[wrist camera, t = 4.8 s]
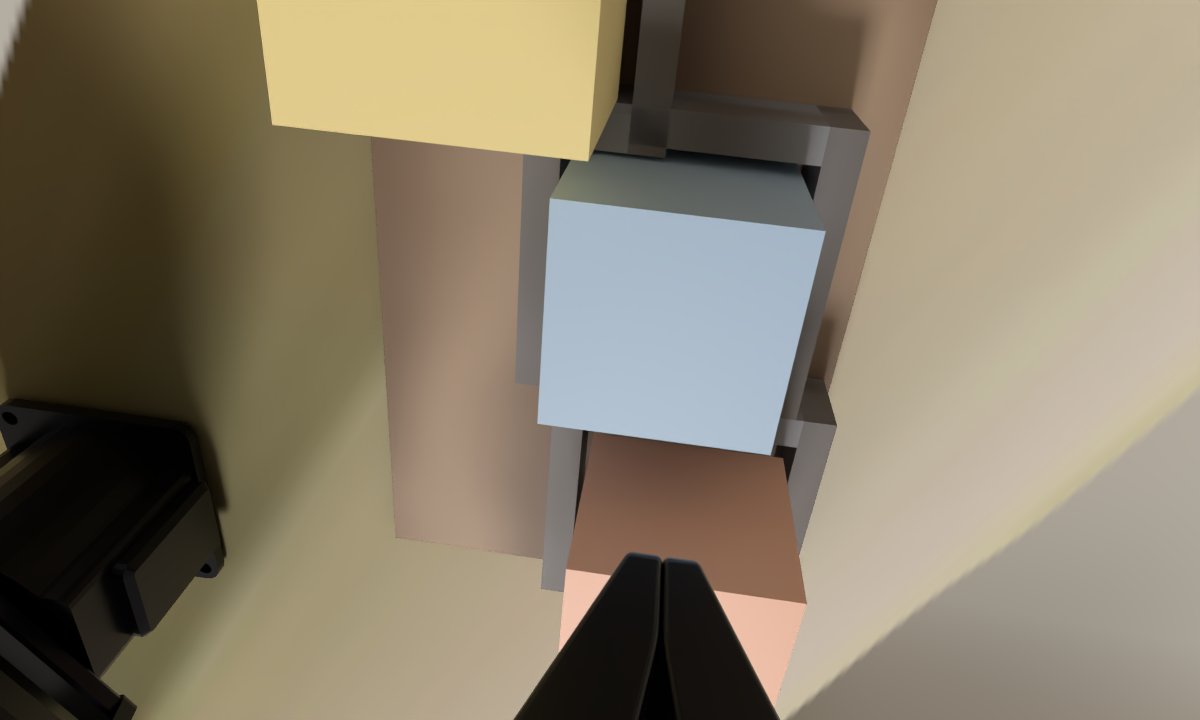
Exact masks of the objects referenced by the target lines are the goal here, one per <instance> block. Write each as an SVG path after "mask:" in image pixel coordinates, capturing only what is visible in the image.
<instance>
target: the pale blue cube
mask: <svg viewBox="0 0 1200 720" xmlns="http://www.w3.org/2000/svg"><path fill="white" fill-rule="evenodd" d="M825 232H826V231H825V229H824V226H823V224H822V221H821V219H820V217H819V214H818V212H817V210H816V207H815V205H814V203H813V200H812V198H811V196H810V193H809V191H808V189H807V186H806V184H805V182H804V179H803V177H802V175H801V172H800V170H799V168H798V165H797V164H796V163H787V162H778V161H770V160H761V159H752V158H744V157H735V156H726V155H718V154H709V153H700V152H691V151H683V150H674V149H666V155H665V158H659V157H651V156H642V155H633V154H625V153H616V152H607V151H599V150H593V152H592V155H591V157H590V159H589V161H579V160H571V161H570V162H569V164H568V166H567V168H566V170H565V171H564V173H563V175H562V177H561V179H560V181H559V182H558V184H557V186H556V188H555V190H554V192H553V193H552V195H551V197H550V204H549V222H548V241H547V259H546V277H545V295H544V313H543V331H542V349H541V367H540V385H539V404H538V422H537V424H543V425H550V426H558V427H565V428H573V429H580V430H587V431H595V432H602V433H610V434H617V435H624V436H632V437H639V438H646V439H654V440H661V441H669V442H676V443H683V444H691V445H698V446H705V447H713V448H720V449H728V450H735V451H742V452H750V453H757V454H765V455H771V452H772V448H773V444H774V439H775V435H776V431H777V427H778V423H779V419H780V415H781V411H782V407H783V403H784V399H785V395H786V391H787V387H788V383H789V378H790V374H791V370H792V366H793V362H794V358H795V354H796V350H797V346H798V342H799V338H800V334H801V330H802V326H803V322H804V317H805V313H806V309H807V305H808V301H809V297H810V293H811V289H812V285H813V281H814V277H815V273H816V269H817V265H818V261H819V256H820V252H821V248H822V244H823V240H824V236H825Z"/></svg>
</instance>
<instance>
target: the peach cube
mask: <svg viewBox="0 0 1200 720" xmlns="http://www.w3.org/2000/svg"><path fill="white" fill-rule="evenodd" d="M629 552H637V553H644V554H651V555H657V556H659V557H660V558H661V559H662V563H663V560H664V559H665V558H667V557H672V558H679V559H686V560H692V561H696V562H697V563H699V564H700V566H701V567H702V569H703V571H704V573H705V575H706V577H707V579H708V581H709V583H710V584H711V586H712V588H713V590H714V592H715V594H716V596H717V598H718V600H719V602H720V604H721V606H722V608H723V610H724V612H725V614H726V616H727V617H728V619H729V621H730V623H731V625H732V627H733V629H734V631H735V633H736V635H737V637H738V639H739V641H740V643H741V645H742V647H743V649H744V650H745V652H746V654H747V656H748V658H749V660H750V662H751V664H752V666H753V668H754V670H755V672H756V674H757V676H758V678H759V680H760V682H761V683H762V685H763V687H764V689H765V691H766V693H767V695H768V697H769V699H770V701H771V703H772V705H773V707H775V704H776V701H777V698H778V694H779V691H780V688H781V685H782V682H783V678H784V675H785V672H786V669H787V666H788V663H789V659H790V656H791V653H792V650H793V647H794V643H795V640H796V637H797V634H798V631H799V627H800V624H801V621H802V618H803V615H804V611H805V608H806V605H807V602H806V596H805V590H804V584H803V578H802V572H801V565H800V559H799V553H798V547H797V541H796V535H795V529H794V522H793V516H792V510H791V504H790V498H789V492H788V485H787V479H786V473H785V467H784V461H783V458H779V457H771V456H764V455H757V454H749V453H742V452H734V451H727V450H720V449H712V448H705V447H698V446H690V445H683V444H675V443H668V442H661V441H653V440H646V439H639V438H631V437H624V436H616V435H609V434H602V433H594V435H593V440H592V445H591V449H590V454H589V459H588V464H587V469H586V474H585V479H584V484H583V489H582V493H581V498H580V503H579V508H578V513H577V518H576V523H575V528H574V533H573V537H572V542H571V547H570V552H569V557H568V562H567V567H566V575H565V586H564V598H563V609H562V620H561V632H560V643H559V652H560V650H561V649H562V648H563V646H564V645H565V643H566V642H567V640H568V639H569V637H570V636H571V634H572V633H573V631H574V630H575V628H576V627H577V625H578V624H579V622H580V621H581V619H582V618H583V617H584V615H585V614H586V612H587V611H588V609H589V608H590V606H591V605H592V603H593V602H594V600H595V599H596V597H597V596H598V594H599V593H600V591H601V590H602V589H603V587H604V586H605V584H606V583H607V581H608V580H609V578H610V577H611V575H612V574H613V572H614V571H615V569H616V568H617V566H618V565H619V563H620V562H621V561H622V559H623V558H624V556H625V555H626V554H627V553H629Z"/></svg>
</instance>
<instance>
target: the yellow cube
mask: <svg viewBox="0 0 1200 720" xmlns="http://www.w3.org/2000/svg"><path fill="white" fill-rule="evenodd" d="M257 5H258V13H259V21H260V29H261V37H262V45H263V53H264V61H265V69H266V77H267V85H268V93H269V101H270V109H271V117H272V125H279V126H288V127H297V128H305V129H314V130H322V131H331V132H339V133H348V134H357V135H365V136H374V137H382V138H391V139H399V140H408V141H417V142H425V143H434V144H442V145H451V146H459V147H468V148H477V149H485V150H494V151H502V152H511V153H519V154H528V155H537V156H545V157H554V158H562V159H571V160H579V161H589V159H590V157H591V155H592V152H593V150H594V148H595V146H596V144H597V142H598V140H599V138H600V135H601V133H602V131H603V129H604V127H605V125H606V123H607V120H608V118H609V116H610V114H611V112H612V110H613V108H614V106H615V103H616V101H617V99H618V89H619V79H620V68H621V58H622V47H623V36H624V26H625V15H626V5H627V0H257Z"/></svg>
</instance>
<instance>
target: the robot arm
mask: <svg viewBox="0 0 1200 720" xmlns="http://www.w3.org/2000/svg"><path fill="white" fill-rule="evenodd" d="M0 431H1V433H2V436H3V439H4V441H5V444H6V447H7V450H6V451H5V452H3V453H2V454H1V455H0V720H131V719H132V717H133V715H134V713H135V711H136V708H137V706H136V705H135V704H134V703H133V702H132V701H130V700H129V699H128V698H127V697H126V696H125V695H118V694H117V693H116V692H115V691H113V690H112V689H111V688H110V687H109V686H108V685H106V684H105V683H104V682H103V681H102V680H101V677H102V676H103V675H104V674H105V672H106V671H107V670H108V669H109V667H110V666H111V665H112V663H113V662H114V661H115V660H116V658H117V657H118V656H119V655H120V653H121V652H122V651H123V650H124V648H125V647H126V646H127V645H128V643H129V642H130V641H131V640H132V638H133V637H134V636H140V637H144V636H146V635H148V634H149V633H150V632H151V631H153V630H154V629H155V627H156V626H157V625H158V623H159V622H160V621H161V620H162V618H163V617H164V616H165V614H166V613H167V612H168V610H169V609H170V608H171V607H172V605H173V604H174V603H175V601H176V600H177V599H178V598H179V596H180V595H181V594H182V592H183V591H184V590H185V589H186V587H187V586H188V585H189V583H190V582H191V581H192V580H193V578H194V577H195V576H196V577H203V578H213V577H216V576H217V574H218V573H219V572H220V570H221V569H222V568H223V566H224V559H223V554H222V549H221V545H220V537H219V532H218V527H217V523H216V518H215V513H214V509H213V504H212V499H211V495H210V490H209V488H208V485H207V480H206V475H205V471H204V466H203V461H202V457H201V452H200V448H199V443H198V438H197V435H196V433H195V431H194V430H193V429H192V428H191V427H190V426H189V425H187V424H186V423H183V422H179V421H172V420H165V419H158V418H151V417H144V416H136V415H129V414H122V413H115V412H108V411H100V410H93V409H86V408H79V407H72V406H64V405H57V404H50V403H43V402H36V401H28V400H21V399H9V400H7V401H5V402H4V403H2V404H1V405H0ZM176 436H178V437H179V438H180V439H181V440H180V439H178V438H177V437H176ZM514 720H780V718H779V716H778V715H777V713H776V711H775V709H774V707H773V705H772V703H771V701H770V699H769V697H768V695H767V693H766V691H765V689H764V687H763V685H762V683H761V682H760V680H759V678H758V676H757V674H756V672H755V670H754V668H753V666H752V664H751V662H750V660H749V658H748V656H747V654H746V652H745V650H744V649H743V647H742V645H741V643H740V641H739V639H738V637H737V635H736V633H735V631H734V629H733V627H732V625H731V623H730V621H729V619H728V617H727V616H726V614H725V612H724V610H723V608H722V606H721V604H720V602H719V600H718V598H717V596H716V594H715V592H714V590H713V588H712V586H711V584H710V583H709V581H708V579H707V577H706V575H705V573H704V571H703V569H702V567H701V566H700V564H699V563H697V562H696V561H692V560H686V559H679V558H672V557H667V558H665V559H664V560H663V563H662V559H661V558H660V557H659V556H657V555H651V554H644V553H637V552H629V553H627V554H626V555H625V556H624V558H623V559H622V561H621V562H620V563H619V565H618V566H617V568H616V569H615V571H614V572H613V574H612V575H611V577H610V578H609V580H608V581H607V583H606V584H605V586H604V587H603V589H602V590H601V591H600V593H599V594H598V596H597V597H596V599H595V600H594V602H593V603H592V605H591V606H590V608H589V609H588V611H587V612H586V614H585V615H584V617H583V618H582V619H581V621H580V622H579V624H578V625H577V627H576V628H575V630H574V631H573V633H572V634H571V636H570V637H569V639H568V640H567V642H566V643H565V645H564V646H563V648H562V649H561V650H560V652H559V653H558V655H557V656H556V658H555V659H554V661H553V662H552V664H551V665H550V667H549V668H548V670H547V671H546V673H545V674H544V676H543V677H542V678H541V680H540V681H539V683H538V684H537V686H536V687H535V689H534V690H533V692H532V693H531V695H530V696H529V698H528V699H527V701H526V702H525V704H524V705H523V707H522V708H521V709H520V711H519V712H518V714H517V715H516V717H515V718H514Z"/></svg>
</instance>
